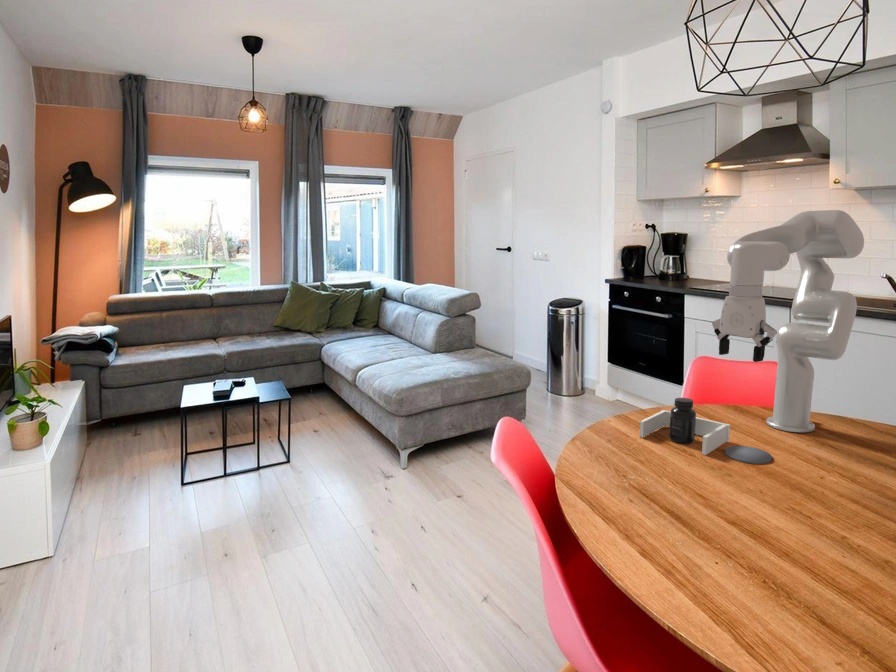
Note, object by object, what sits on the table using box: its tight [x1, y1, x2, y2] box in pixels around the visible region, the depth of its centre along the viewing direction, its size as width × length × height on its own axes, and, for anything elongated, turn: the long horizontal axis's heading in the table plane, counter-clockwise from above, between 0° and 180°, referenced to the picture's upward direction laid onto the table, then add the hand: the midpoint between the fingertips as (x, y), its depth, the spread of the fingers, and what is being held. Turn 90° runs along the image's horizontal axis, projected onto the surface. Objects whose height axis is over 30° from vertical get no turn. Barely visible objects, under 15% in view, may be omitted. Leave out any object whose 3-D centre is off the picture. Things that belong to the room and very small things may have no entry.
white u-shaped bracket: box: [639, 409, 731, 456], centre depth 162 cm, size 14×20×5 cm
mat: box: [724, 445, 773, 465], centre depth 150 cm, size 11×11×1 cm
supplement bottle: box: [668, 397, 697, 445], centre depth 161 cm, size 7×7×12 cm
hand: (740, 357), depth 147 cm, fingers open, 9 cm apart
